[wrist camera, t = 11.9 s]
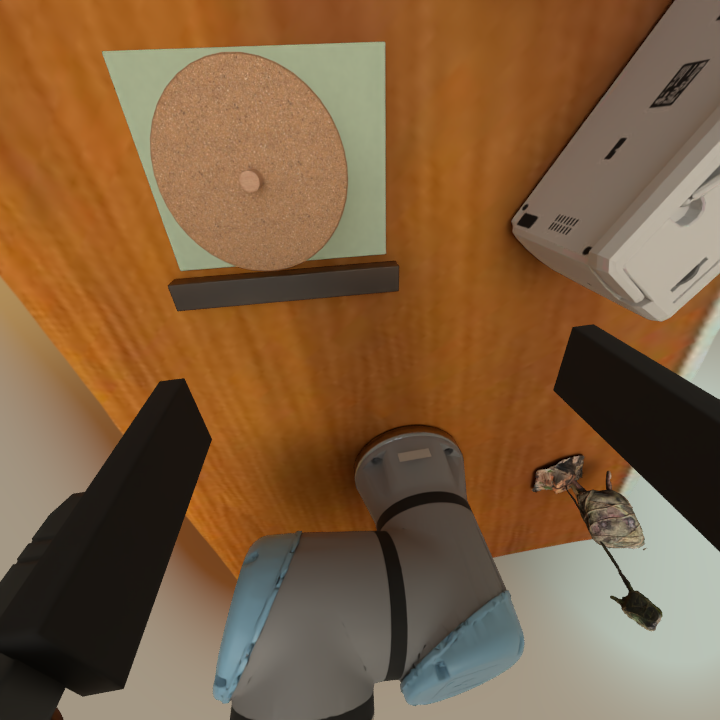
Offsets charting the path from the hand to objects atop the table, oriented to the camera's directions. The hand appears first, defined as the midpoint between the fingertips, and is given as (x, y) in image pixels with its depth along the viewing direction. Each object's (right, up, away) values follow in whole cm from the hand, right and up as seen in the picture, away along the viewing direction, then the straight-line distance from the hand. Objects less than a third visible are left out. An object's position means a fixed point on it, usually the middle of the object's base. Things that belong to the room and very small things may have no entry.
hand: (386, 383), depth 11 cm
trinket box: (-8, +15, +14) cm, 22 cm away
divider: (-7, +8, +19) cm, 22 cm away
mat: (-8, +16, +14) cm, 22 cm away
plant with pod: (+32, -17, +41) cm, 55 cm away
